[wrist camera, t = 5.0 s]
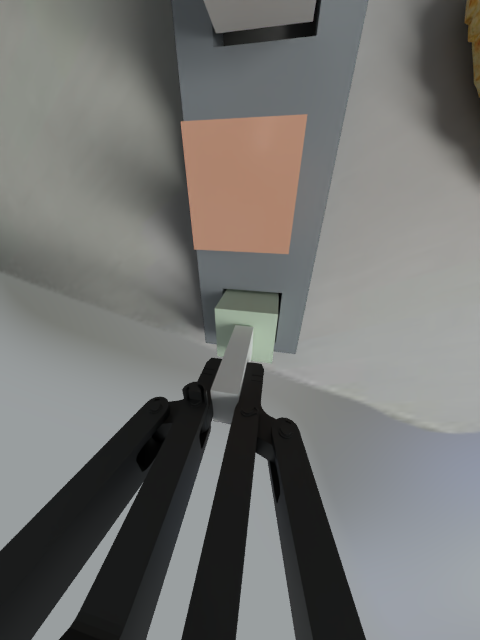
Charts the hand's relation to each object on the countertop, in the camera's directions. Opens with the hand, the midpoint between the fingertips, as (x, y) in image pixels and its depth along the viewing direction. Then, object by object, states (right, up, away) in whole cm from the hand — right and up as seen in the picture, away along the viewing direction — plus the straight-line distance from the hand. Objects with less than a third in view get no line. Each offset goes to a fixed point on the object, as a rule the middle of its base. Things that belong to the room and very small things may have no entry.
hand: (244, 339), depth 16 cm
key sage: (+1, +3, +5) cm, 6 cm away
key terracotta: (+1, +10, -2) cm, 11 cm away
